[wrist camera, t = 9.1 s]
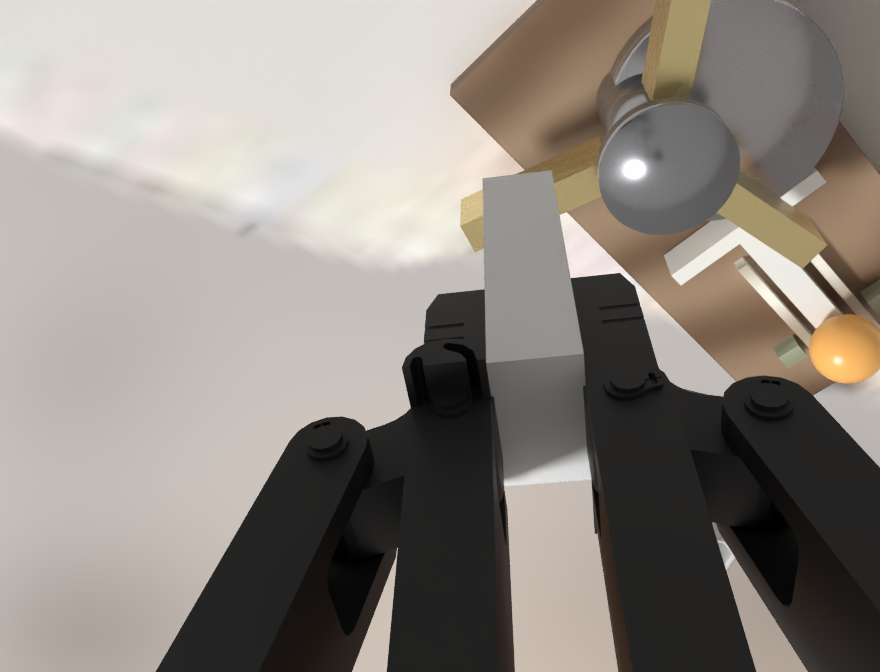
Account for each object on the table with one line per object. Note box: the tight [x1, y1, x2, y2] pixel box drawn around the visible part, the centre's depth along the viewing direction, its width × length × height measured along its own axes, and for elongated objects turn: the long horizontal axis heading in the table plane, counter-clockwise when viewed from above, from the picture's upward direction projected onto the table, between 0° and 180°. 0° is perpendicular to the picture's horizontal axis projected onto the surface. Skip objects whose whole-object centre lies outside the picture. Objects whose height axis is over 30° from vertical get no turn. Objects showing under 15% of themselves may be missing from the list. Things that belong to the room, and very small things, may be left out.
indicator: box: [664, 167, 880, 384], centre depth 41 cm, size 11×8×5 cm
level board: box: [450, 0, 880, 395], centre depth 41 cm, size 27×12×2 cm, turn 45°
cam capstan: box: [460, 0, 843, 269], centre depth 34 cm, size 16×14×8 cm
